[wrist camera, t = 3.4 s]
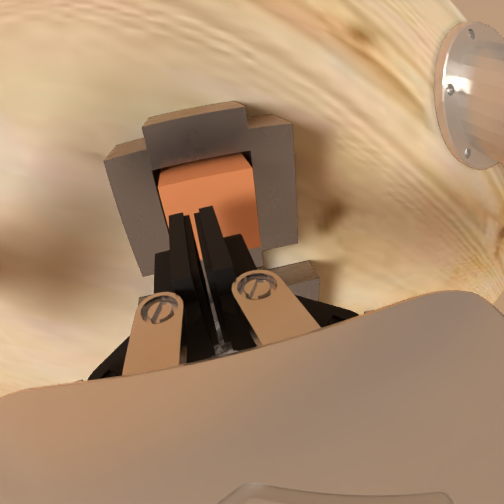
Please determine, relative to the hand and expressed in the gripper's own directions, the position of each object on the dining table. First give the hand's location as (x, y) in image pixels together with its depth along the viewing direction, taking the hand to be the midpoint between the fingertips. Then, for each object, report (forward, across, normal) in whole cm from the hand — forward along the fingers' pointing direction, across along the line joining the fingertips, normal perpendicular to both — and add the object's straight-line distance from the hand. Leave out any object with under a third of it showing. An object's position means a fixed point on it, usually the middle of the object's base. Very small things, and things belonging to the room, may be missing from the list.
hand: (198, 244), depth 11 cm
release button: (+4, -1, 0) cm, 4 cm away
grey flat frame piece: (+6, -1, +7) cm, 9 cm away
